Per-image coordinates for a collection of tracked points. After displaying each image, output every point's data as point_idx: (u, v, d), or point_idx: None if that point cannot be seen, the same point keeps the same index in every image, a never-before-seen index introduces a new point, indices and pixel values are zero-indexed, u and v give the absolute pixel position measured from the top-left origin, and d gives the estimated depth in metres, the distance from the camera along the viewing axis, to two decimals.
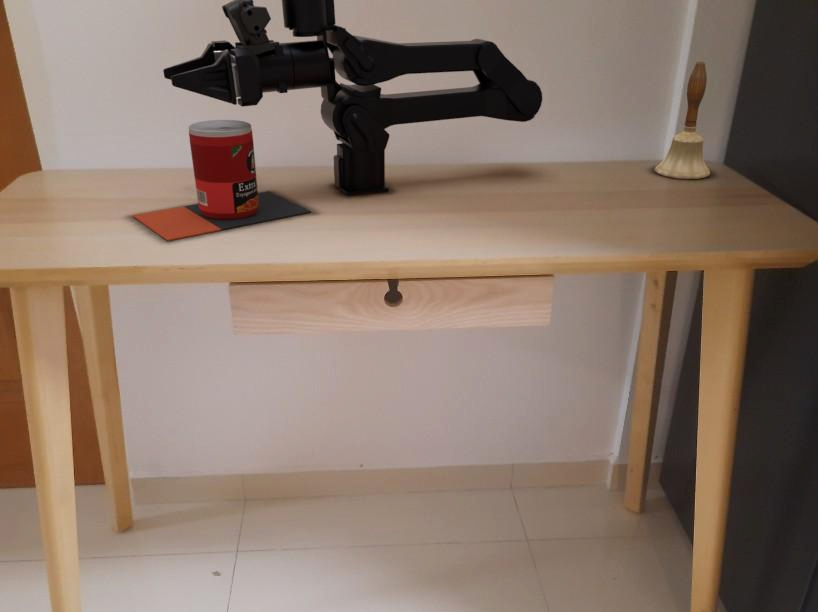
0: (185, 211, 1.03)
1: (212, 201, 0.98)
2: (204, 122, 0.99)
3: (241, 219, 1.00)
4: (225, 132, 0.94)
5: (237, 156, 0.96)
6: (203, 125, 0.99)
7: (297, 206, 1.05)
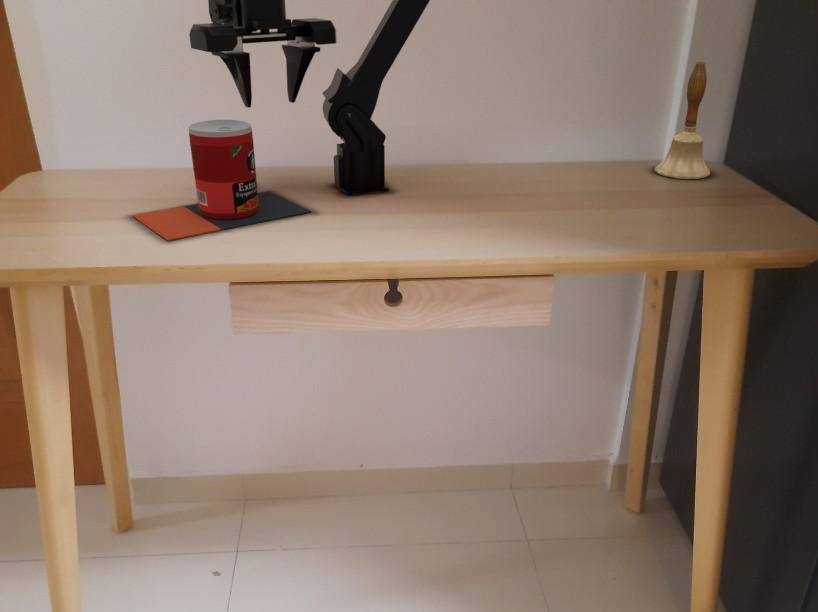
0: (185, 211, 1.03)
1: (212, 201, 0.98)
2: (204, 122, 0.99)
3: (241, 219, 1.00)
4: (225, 132, 0.94)
5: (237, 156, 0.96)
6: (203, 125, 0.99)
7: (297, 206, 1.05)
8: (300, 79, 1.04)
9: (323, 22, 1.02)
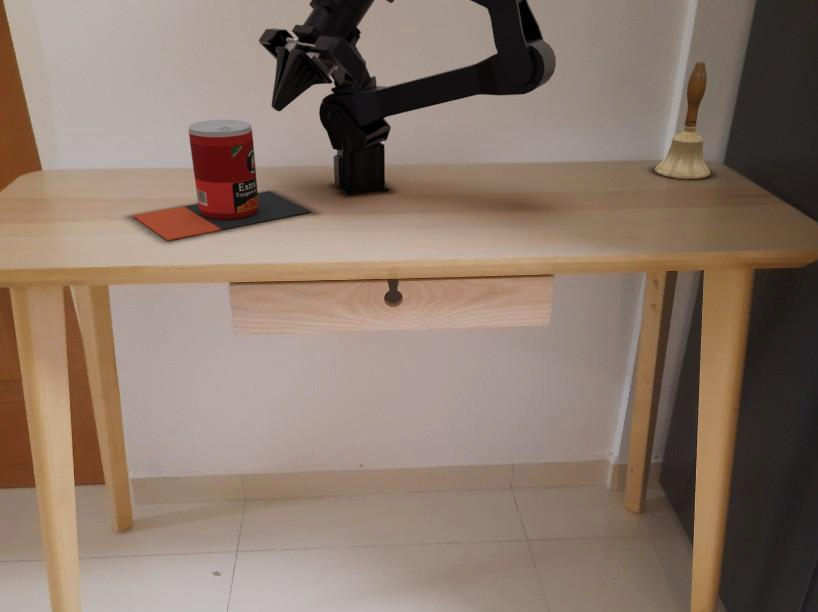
0: (185, 211, 1.03)
1: (212, 201, 0.98)
2: (204, 122, 0.99)
3: (241, 219, 1.00)
4: (225, 132, 0.94)
5: (237, 156, 0.96)
6: (203, 125, 0.99)
7: (297, 206, 1.05)
8: (282, 81, 0.99)
9: None
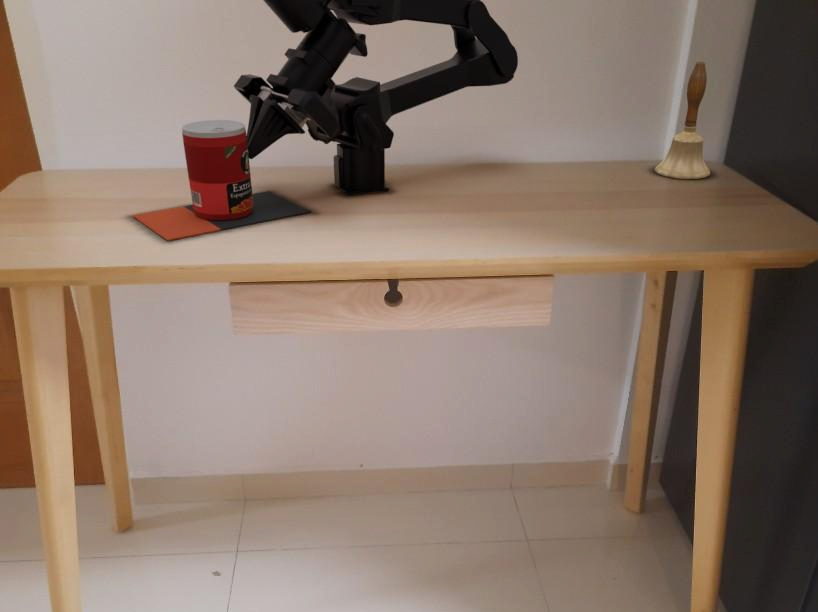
0: (185, 211, 1.03)
1: (206, 202, 0.98)
2: (198, 122, 0.99)
3: (241, 219, 1.00)
4: (218, 133, 0.94)
5: (231, 156, 0.96)
6: (196, 126, 0.98)
7: (297, 206, 1.05)
8: (255, 130, 0.99)
9: (308, 90, 0.94)
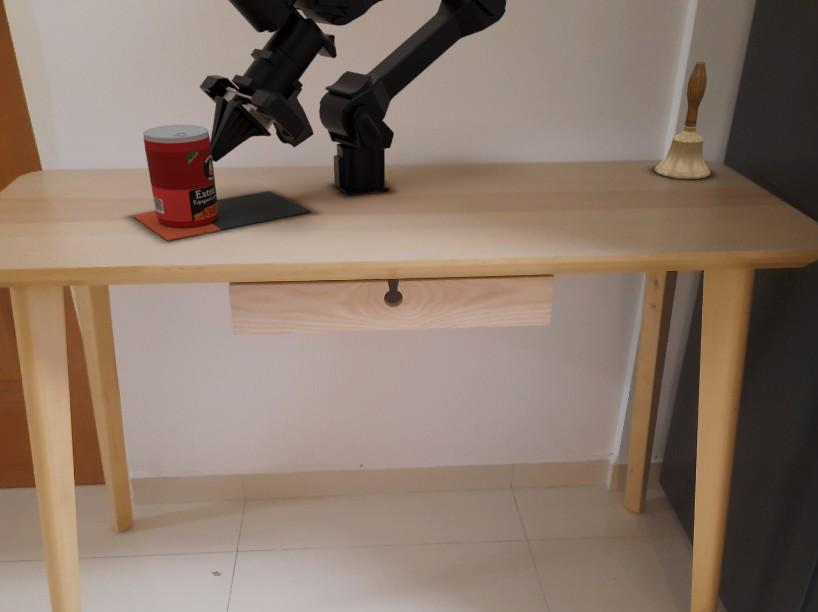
0: None
1: (169, 209, 0.96)
2: (161, 127, 0.96)
3: (241, 219, 1.00)
4: (180, 138, 0.91)
5: (193, 162, 0.93)
6: (159, 130, 0.96)
7: (297, 206, 1.05)
8: (219, 132, 0.97)
9: (272, 91, 0.91)
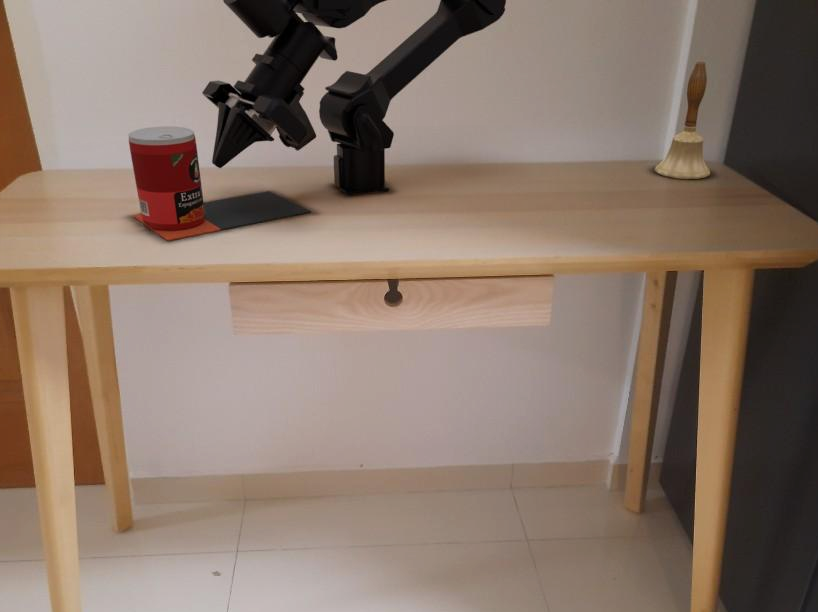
0: None
1: (154, 212, 0.95)
2: (146, 129, 0.95)
3: (241, 219, 1.00)
4: (164, 140, 0.90)
5: (178, 165, 0.92)
6: (145, 132, 0.95)
7: (297, 206, 1.05)
8: (223, 139, 0.97)
9: (274, 97, 0.92)
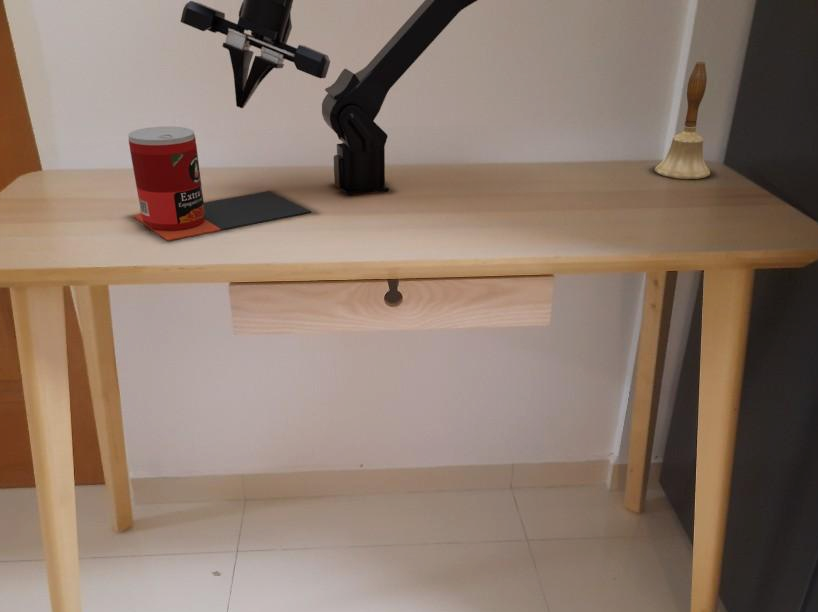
0: None
1: (154, 212, 0.95)
2: (146, 129, 0.95)
3: (241, 219, 1.00)
4: (164, 140, 0.90)
5: (178, 165, 0.92)
6: (144, 132, 0.95)
7: (297, 206, 1.05)
8: (249, 86, 1.01)
9: (313, 52, 0.98)
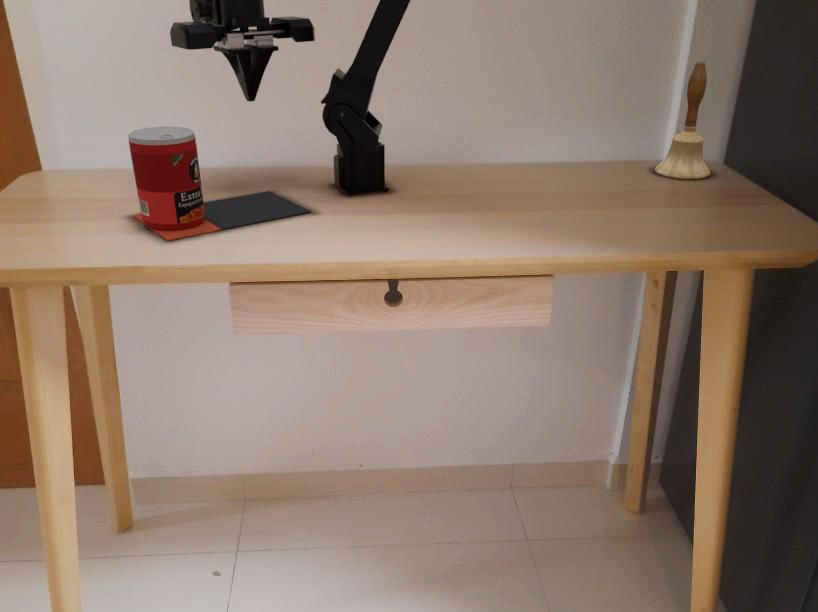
0: None
1: (154, 212, 0.95)
2: (146, 129, 0.95)
3: (241, 219, 1.00)
4: (164, 140, 0.90)
5: (178, 164, 0.92)
6: (144, 132, 0.95)
7: (297, 206, 1.05)
8: (259, 78, 1.06)
9: (301, 20, 1.05)
